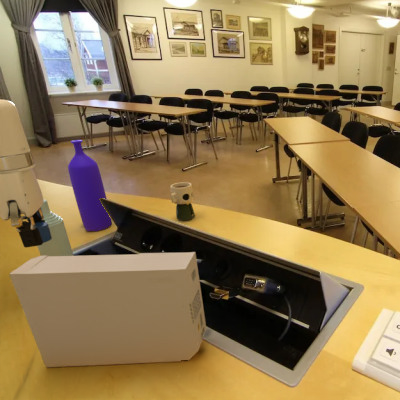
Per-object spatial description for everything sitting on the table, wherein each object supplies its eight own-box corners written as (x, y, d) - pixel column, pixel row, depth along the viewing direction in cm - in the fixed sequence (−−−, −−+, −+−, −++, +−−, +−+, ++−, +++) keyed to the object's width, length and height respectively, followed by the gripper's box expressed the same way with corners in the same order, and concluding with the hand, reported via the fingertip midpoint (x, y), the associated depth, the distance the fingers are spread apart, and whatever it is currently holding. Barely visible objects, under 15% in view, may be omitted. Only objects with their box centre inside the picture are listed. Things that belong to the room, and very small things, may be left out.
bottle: (78, 230, 108) (52, 142, 97) (99, 220, 116) (78, 137, 105) (98, 233, 106) (74, 143, 96) (118, 223, 114) (98, 139, 103)
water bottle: (41, 274, 84) (18, 207, 78) (49, 261, 90) (28, 198, 83) (72, 268, 87) (52, 203, 80) (77, 256, 93) (59, 195, 86)
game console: (66, 343, 63) (36, 254, 56) (208, 337, 65) (195, 251, 58) (45, 368, 57) (8, 273, 50) (200, 360, 59) (185, 269, 52)
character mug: (184, 225, 113) (178, 190, 108) (167, 222, 115) (161, 188, 110) (203, 213, 123) (199, 181, 118) (187, 211, 125) (183, 179, 120)
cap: (55, 235, 75) (51, 221, 74) (47, 243, 71) (42, 228, 70) (35, 237, 74) (30, 222, 73) (25, 245, 70) (20, 229, 69)
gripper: (2, 155, 71) (29, 229, 78) (-37, 175, 57) (0, 263, 64) (44, 152, 74) (66, 223, 81) (17, 170, 60) (47, 254, 67)
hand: (37, 240), depth 72 cm, fingers closed on cap, 3 cm apart
